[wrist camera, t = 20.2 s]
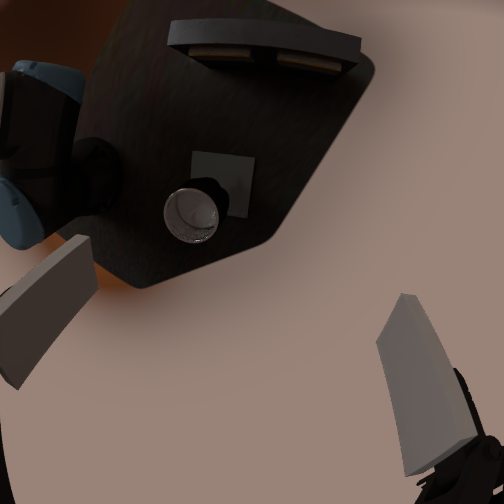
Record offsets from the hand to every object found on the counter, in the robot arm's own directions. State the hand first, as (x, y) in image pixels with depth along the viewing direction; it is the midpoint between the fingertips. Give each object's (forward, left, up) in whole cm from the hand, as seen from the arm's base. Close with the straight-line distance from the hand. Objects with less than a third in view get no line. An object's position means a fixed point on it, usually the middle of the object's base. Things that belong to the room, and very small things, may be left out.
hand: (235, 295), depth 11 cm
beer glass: (-8, -5, -34) cm, 35 cm away
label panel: (-3, +15, -34) cm, 38 cm away
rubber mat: (-8, -5, -34) cm, 36 cm away
